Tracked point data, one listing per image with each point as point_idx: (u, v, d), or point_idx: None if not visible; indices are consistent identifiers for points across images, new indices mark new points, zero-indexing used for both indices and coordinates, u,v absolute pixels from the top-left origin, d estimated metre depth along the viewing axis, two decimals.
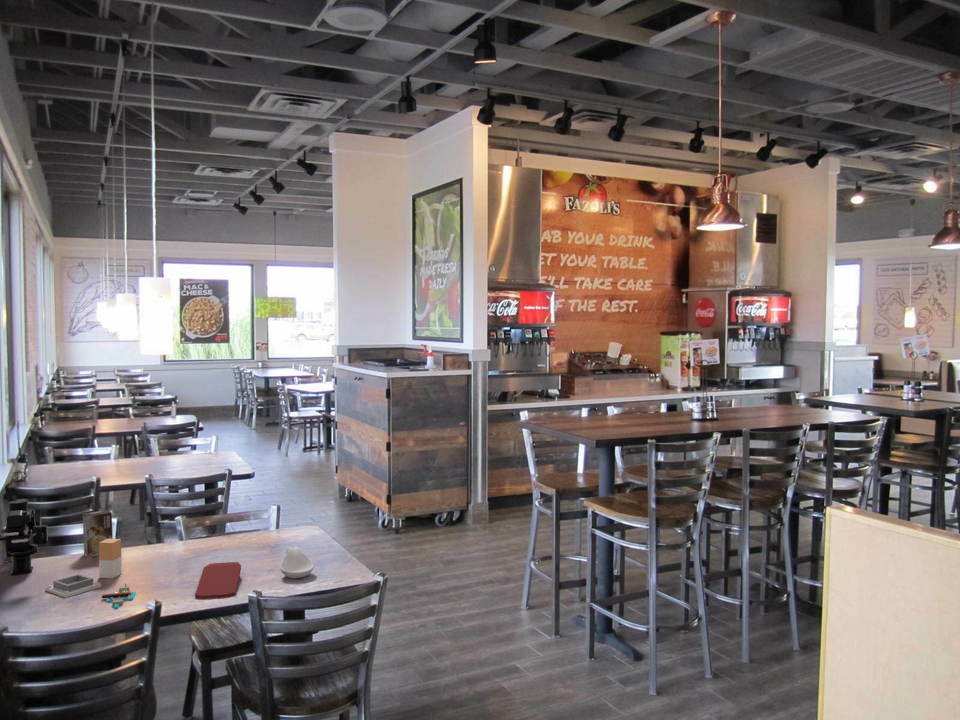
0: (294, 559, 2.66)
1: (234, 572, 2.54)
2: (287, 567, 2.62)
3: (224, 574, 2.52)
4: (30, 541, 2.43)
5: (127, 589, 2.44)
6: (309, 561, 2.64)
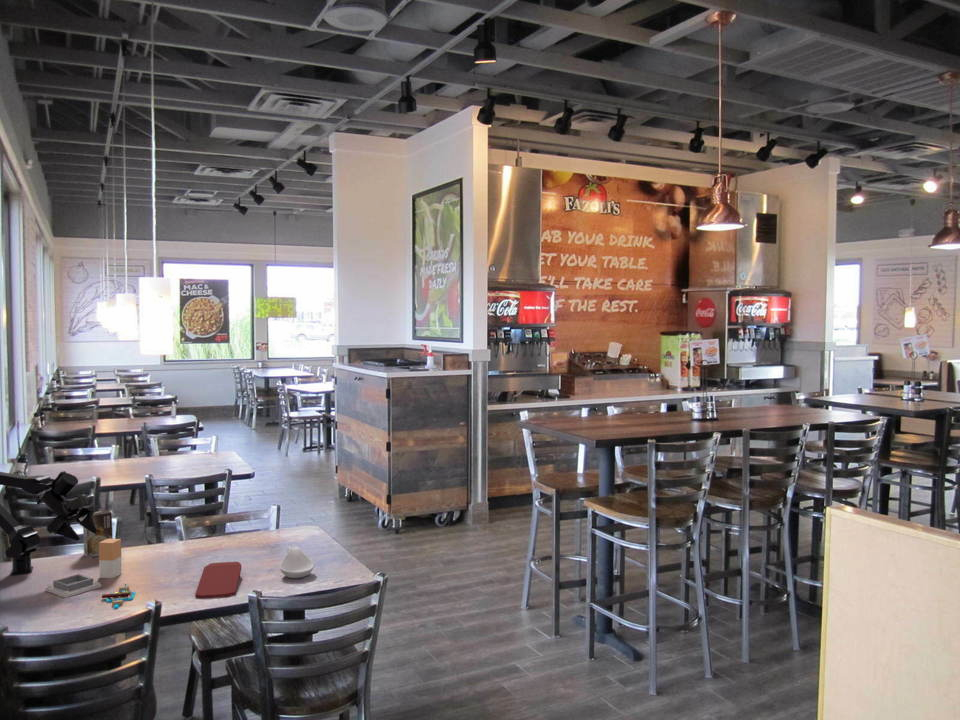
0: (294, 559, 2.66)
1: (234, 571, 2.54)
2: (287, 567, 2.62)
3: (224, 574, 2.52)
4: None
5: (127, 589, 2.44)
6: (309, 561, 2.64)
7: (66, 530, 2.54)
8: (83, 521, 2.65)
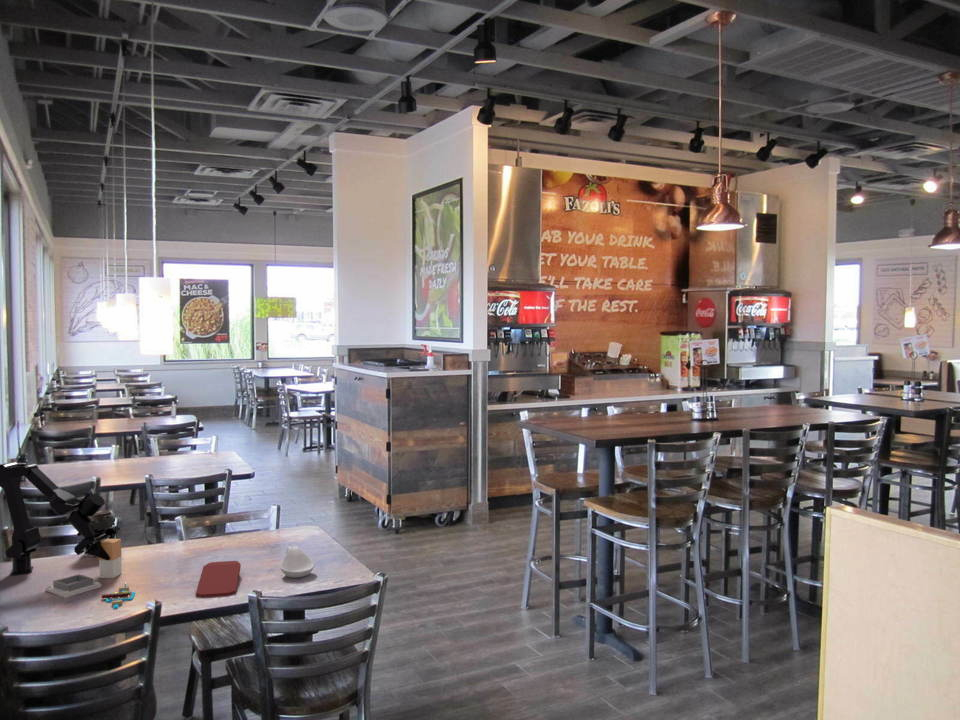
0: (294, 558, 2.66)
1: (234, 570, 2.55)
2: (287, 566, 2.63)
3: (224, 573, 2.53)
4: None
5: (127, 589, 2.44)
6: (309, 560, 2.65)
7: (97, 550, 2.56)
8: None
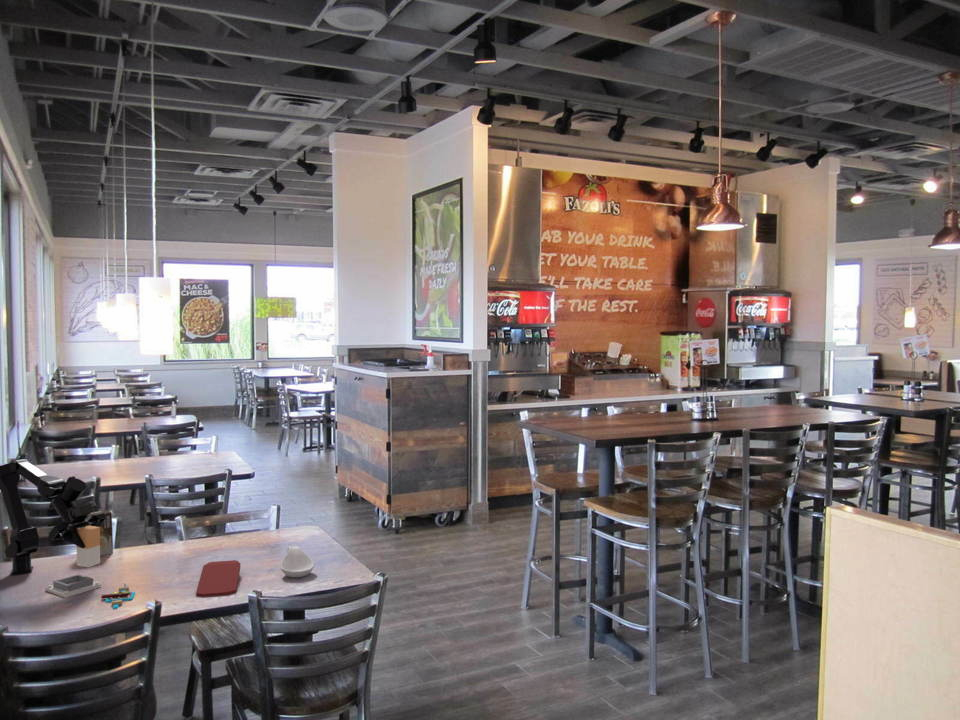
0: (294, 558, 2.67)
1: (233, 570, 2.56)
2: (287, 566, 2.63)
3: (224, 572, 2.54)
4: None
5: (127, 589, 2.44)
6: (309, 560, 2.65)
7: (73, 537, 2.47)
8: None
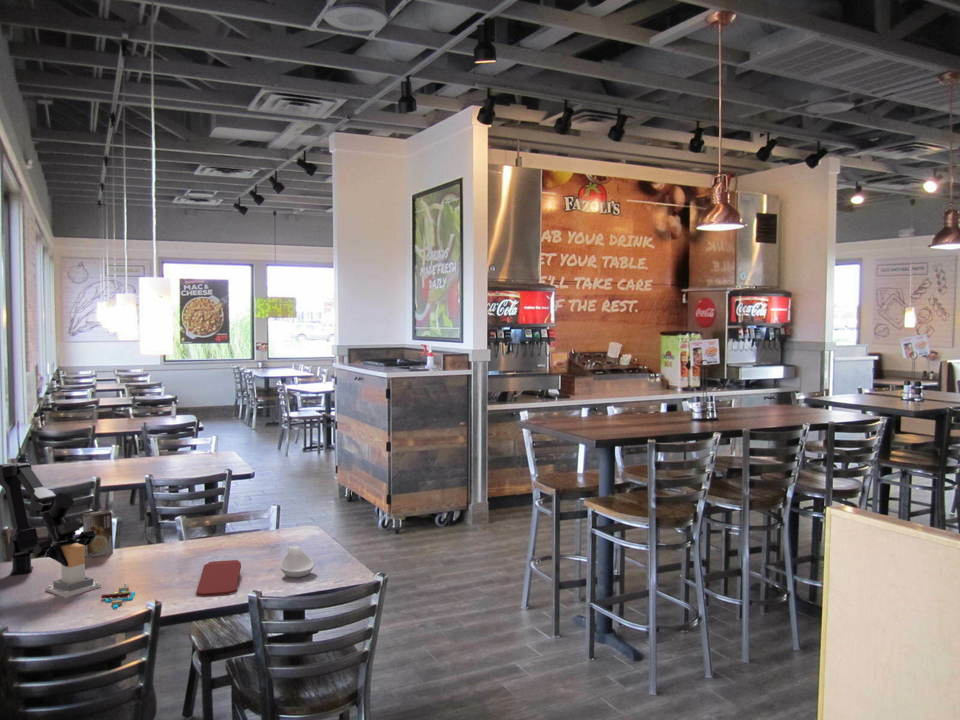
0: (295, 558, 2.67)
1: (234, 569, 2.56)
2: (287, 566, 2.63)
3: (224, 572, 2.54)
4: None
5: (127, 589, 2.44)
6: (309, 560, 2.65)
7: (57, 554, 2.44)
8: None
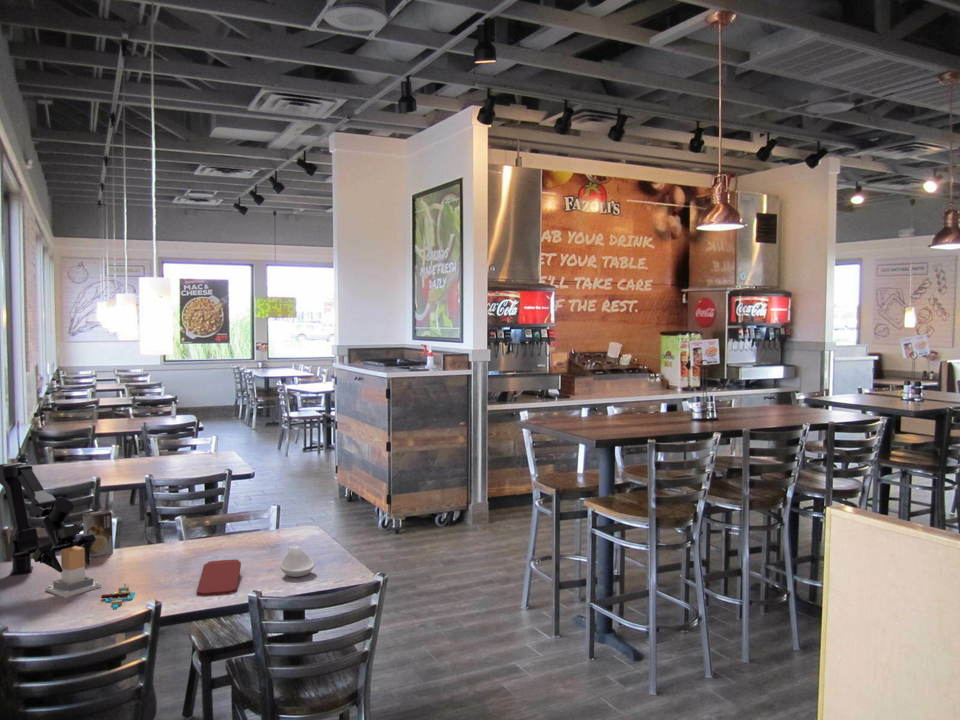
0: (295, 558, 2.67)
1: (234, 569, 2.57)
2: (288, 566, 2.64)
3: (224, 571, 2.55)
4: None
5: (126, 589, 2.44)
6: (309, 560, 2.65)
7: (51, 560, 2.42)
8: None
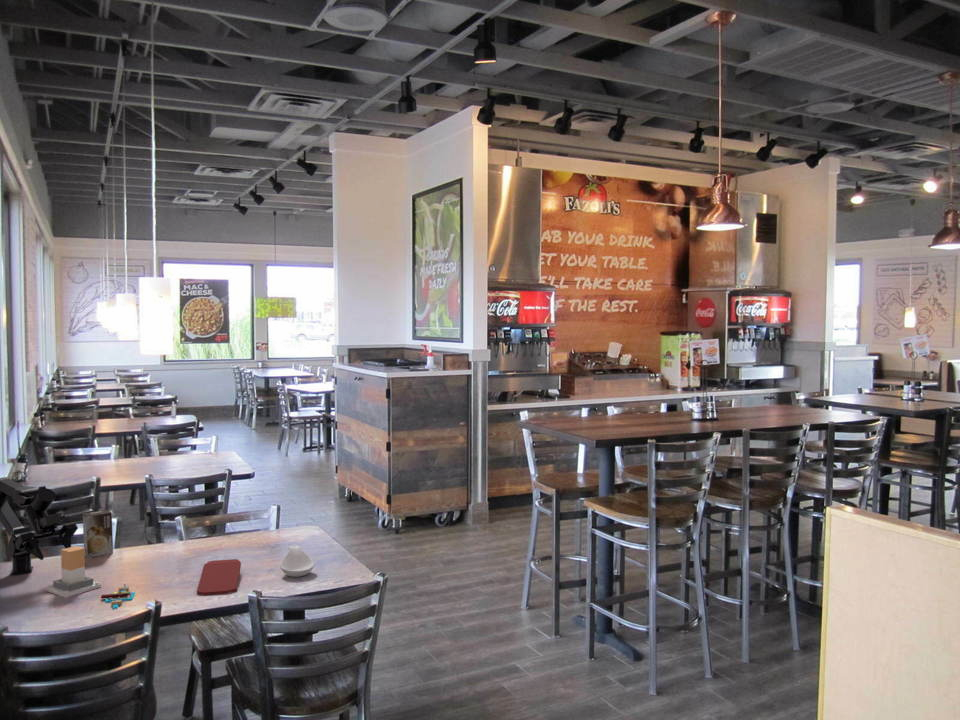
0: (295, 558, 2.67)
1: (234, 568, 2.57)
2: (288, 565, 2.64)
3: (224, 571, 2.55)
4: None
5: (126, 589, 2.44)
6: (310, 560, 2.65)
7: (33, 548, 2.48)
8: (63, 539, 2.58)
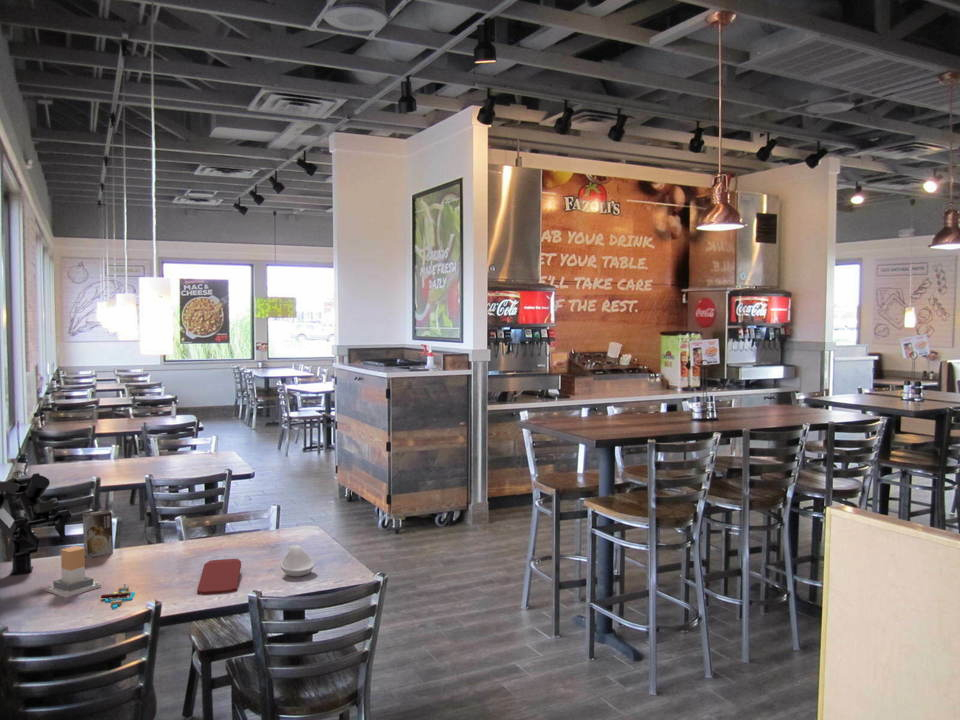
0: (295, 557, 2.68)
1: (234, 568, 2.58)
2: (288, 565, 2.64)
3: (225, 570, 2.56)
4: None
5: (126, 589, 2.44)
6: (310, 559, 2.66)
7: (27, 534, 2.50)
8: (57, 525, 2.60)
